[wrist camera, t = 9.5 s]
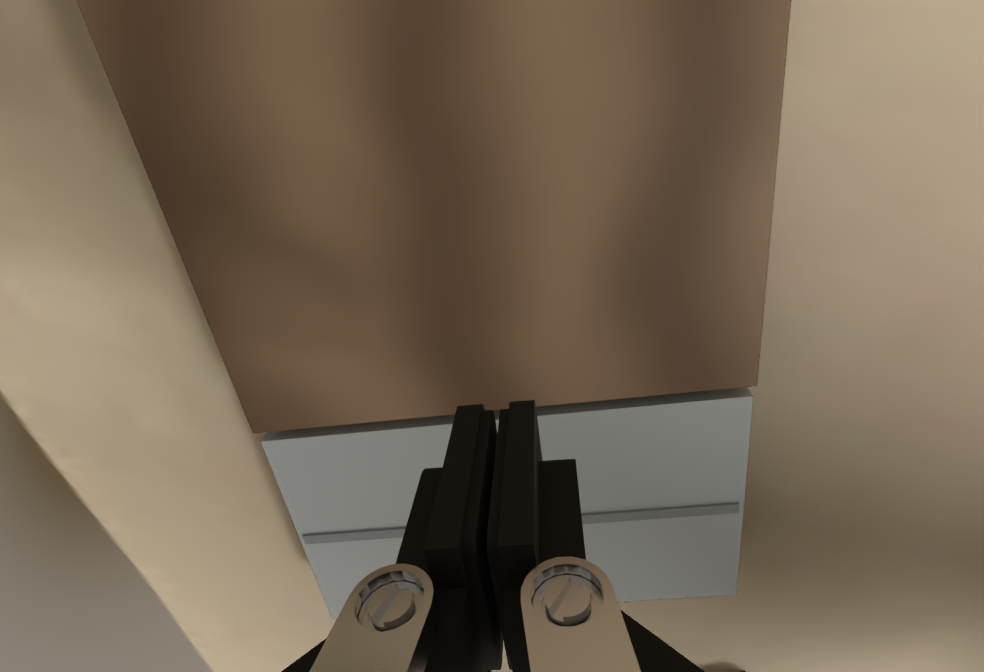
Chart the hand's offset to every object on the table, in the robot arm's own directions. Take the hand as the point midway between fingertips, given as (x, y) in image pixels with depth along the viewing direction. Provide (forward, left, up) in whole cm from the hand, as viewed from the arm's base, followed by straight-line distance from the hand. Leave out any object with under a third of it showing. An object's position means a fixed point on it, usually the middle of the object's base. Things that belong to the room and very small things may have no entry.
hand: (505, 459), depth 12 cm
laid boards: (+1, +7, -7) cm, 10 cm away
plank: (+1, -5, -7) cm, 9 cm away
